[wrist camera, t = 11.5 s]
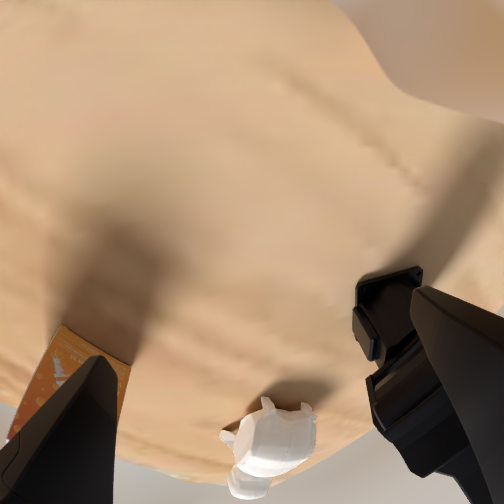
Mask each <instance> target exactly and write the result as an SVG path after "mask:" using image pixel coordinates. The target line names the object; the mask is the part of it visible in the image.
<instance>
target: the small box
mask: <svg viewBox="0 0 504 504" xmlns="http://www.w3.org/2000/svg"><path fill="white" fill-rule="evenodd" d="M93 355H103V356H105V357H106V359H107V360H108V362H109V363H110V365H111V366H112V367H113V369H114V370H115V372H116V374H117V377H118V403H117V427H118V422H119V418H120V414H121V409H122V405H123V401H124V397H125V392H126V388H127V384H128V380H129V376H130V372H131V367H130V366H128V365H126V364H124V363H122V362H120V361H118V360H117V359H115V358H113V357H111V356H110V355H108V354H106V353H105V352H103V351H101V350H99V349H98V348H96V347H95V346H93V345H91V344H90V343H88V342H87V341H85V340H84V339H82V338H80V337H79V336H77V335H76V334H74V333H73V332H71V331H70V330H68V328H66V327H65V326H63V325H60V326H59V328H58V330H57V331H56V333H55V335H54V337H53V338H52V340H51V342H50V344H49V346H48V347H47V349H46V351H45V353H44V355H43V357H42V359H41V361H40V363H39V365H38V366H37V368H36V370H35V372H34V374H33V376H32V378H31V381H30V383H29V385H28V387H27V389H26V391H25V393H24V396H23V398H22V400H21V402H20V404H19V407H18V409H17V411H16V414H15V416H14V419H13V421H12V424H11V426H10V429H9V431H8V434H7V437H6V443H5V445H6V444H7V443H8V442H9V441H10V440H11V438H12V437H13V436H14V435H15V434H16V433H17V432H18V431H19V430H20V429H21V428H22V426H23V425H24V424H25V423H26V422H27V421H28V420H29V419H30V418H31V417H32V416H33V415H34V414H35V413H36V411H37V410H38V409H39V408H40V407H41V406H42V405H43V404H44V403H45V402H46V401H47V400H48V399H49V398H50V397H51V396H52V395H53V394H54V393H55V391H56V390H57V389H58V388H59V387H60V386H61V385H62V384H63V383H64V382H65V381H66V380H67V379H68V378H69V377H70V376H71V375H72V374H73V373H74V372H75V371H76V370H77V369H78V368H79V367H80V366H81V365H82V364H83V363H84V362H85V361H86V360H87V359H88V358H89V357H90V356H93Z"/></svg>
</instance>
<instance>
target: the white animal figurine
mask: <svg viewBox="0 0 504 504" xmlns="http://www.w3.org/2000/svg"><path fill="white" fill-rule="evenodd" d="M261 402H262V406H263V408H262V410H258V411H256V412H254V413H251V414H248V415H246V416H245V417H244V418H243V419H242V421H241V423H240V426H239V430H238V432H237V433H234V432H230V431H226V430H221V432H220V434H219V437H220V439H221V440H222V441H223V442H224V443H225V444H226V445H228V446H229V447H231V449H232V450H233V452H234V457H235V462H236V463H235V464H234V466H233V467H232V470H231V471H230V473H229V475H228V478H227V479H228V486H229V489H230V492H231V493H232V495H233V496H235V497H237V498H240V499H246V500H251V499H257V498H260V497H263V496H265V495H266V494H267V492H268V490H269V487H270V484H271V482H272V477H273V476H277V475H280V474H283V473H286V472H287V471H289V470H290V469H292V468H295V467H297V466H298V464H300V463H301V462H303V461H305V460H307V459H308V458H309V457H310V455H311V454H312V453H313V451H314V449H315V445H316V443H315V442H316V423H315V421H314V420H315V419H316V418H317V415H316V414H315V413H313V412H312V408H311V407H310V406H309V404H308V403H304V402H301V409H300V411H291V412H289V411H286V410H282V409H276V408H275V406H274V404H273V403H272V401H271V400H270V399H269V397H263V396H261Z"/></svg>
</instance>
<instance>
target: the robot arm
mask: <svg viewBox="0 0 504 504" xmlns="http://www.w3.org/2000/svg"><path fill="white" fill-rule="evenodd" d="M417 272H418V273H417ZM422 277H423V270H422V269H421V268H420V267H419V266H417V267H413V268H410V269H406V270H403V271H400V272H396V273H393V274H389V275H385V276H382V277H378V278H374V279H371V280H367V281H363V282H360V283H358V284H357V286H356V288H355V307H354V308H353V321H352V330H353V332H354V334H355V335H354V336H355V339H356V341H358V342H359V344H360V346H361V348H362V350H363V352H364V354H365V356H366V358H367V359H368V360H369V361H370V362H371V361H374V360H375V362H376V364H377V366H378V368H379V369H378V370H377V371H376V372H375V373H373V374H372V375H369V376H368V377H367V378H366V379H365V380H366V385H367V391H368V396H369V402H370V408H371V414H372V419H373V424H374V425H375V426H376V427H377V429H378V431H379V432H380V433H381V434H382V435H383V436H384V437H385V438H386V439H387V440H388V441H389V442H391V443H393V444H394V446H395V447H396V448H397V450H398V451H399V452H400V454H401V456H402V457H403V459H404V461H405V463H406V464H407V466H408V468H409V470H410V471H411V472H412V473H414V474H416V475H417V476H419V477H421V478H425V477H426V476H428V475H430V474H431V473H433V472H436V473H440V474H443V475H447V476H450V477H453V478H454V479H455V481H456V482H457V483H458V485H459V486H460V487H461V489H462V491H463V492H464V494H465V495H466V497H467V499H468V500H469V502H470V503H471V504H504V318H503V317H501V316H498V315H496V314H494V313H491V312H489V311H487V310H484V309H482V308H480V307H477V306H475V305H473V304H470V303H468V302H466V301H463V300H461V299H459V298H456V297H454V296H452V295H449V294H447V293H444V292H442V291H439V290H437V289H435V288H432V287H430V286H427V285H425V286H421V284H422ZM362 287H364V288H363V289H361V288H362ZM360 289H361V290H360ZM117 403H118V377H117V374H116V372H115V370H114V369H113V367H112V366H111V365H110V363H109V362H108V360H107V359H106V357H105V356H103V355H93V356H90V357H89V358H88V359H87V360H86V361H85V362H84V363H83V364H82V365H81V366H80V367H79V368H78V369H77V370H76V371H75V372H74V373H73V374H72V375H71V376H70V377H69V378H68V379H67V380H66V381H65V382H64V383H63V384H62V385H61V386H60V387H59V388H58V389H57V390H56V391H55V393H54V394H53V395H52V396H51V397H50V398H49V399H48V400H47V401H46V402H45V403H44V404H43V405H42V406H41V407H40V408H39V409H38V410H37V411H36V413H35V414H34V415H33V416H32V417H31V418H30V419H29V420H28V421H27V422H26V423H25V424H24V425H23V426H22V428H21V429H20V430H19V431H18V432H17V433H16V434H15V435H14V436H13V437H12V438H11V440H10V441H9V442H8V443H7V444H6V445H5V446H4V447H3V448H2V449H1V450H0V504H113V481H114V460H115V446H116V434H117Z"/></svg>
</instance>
